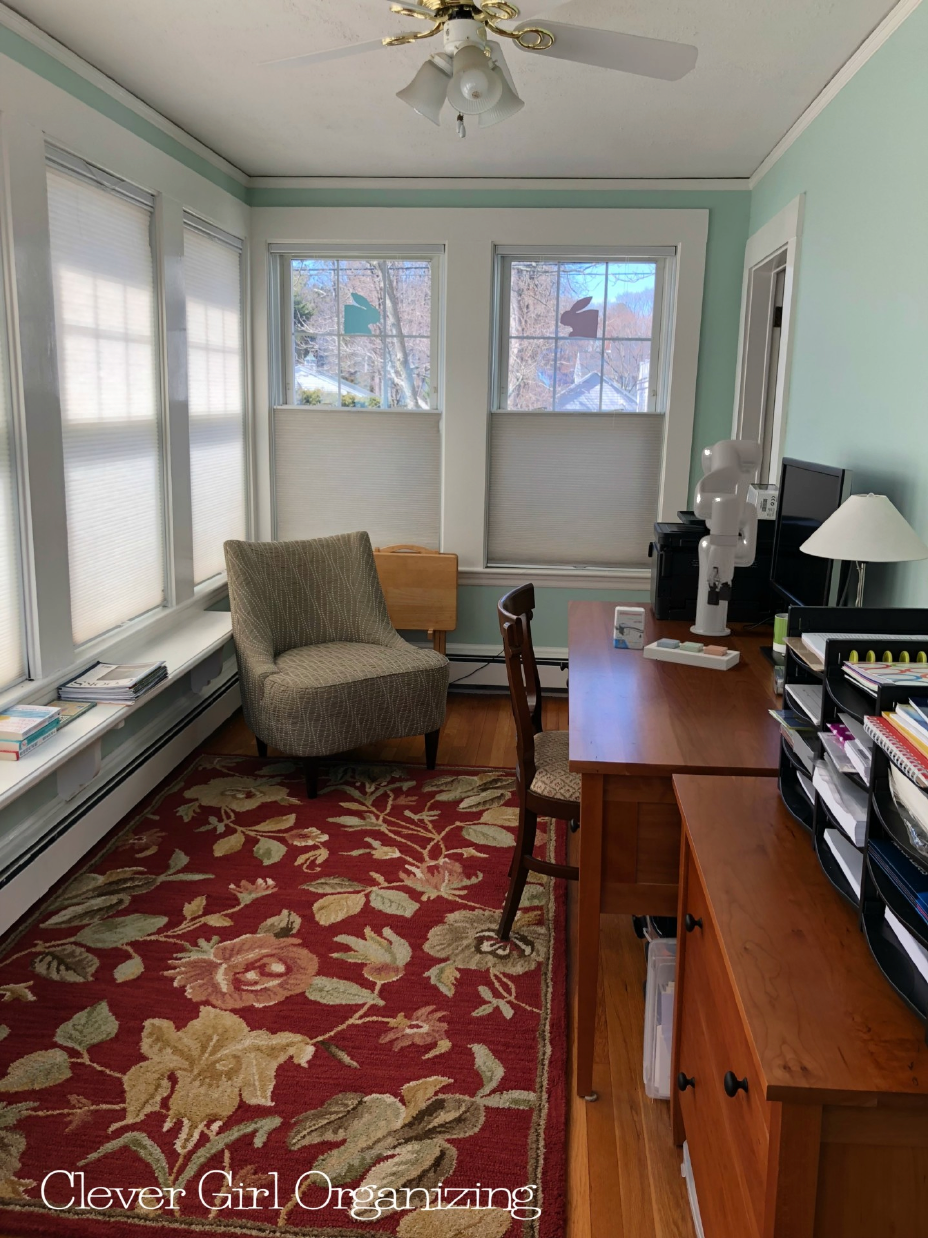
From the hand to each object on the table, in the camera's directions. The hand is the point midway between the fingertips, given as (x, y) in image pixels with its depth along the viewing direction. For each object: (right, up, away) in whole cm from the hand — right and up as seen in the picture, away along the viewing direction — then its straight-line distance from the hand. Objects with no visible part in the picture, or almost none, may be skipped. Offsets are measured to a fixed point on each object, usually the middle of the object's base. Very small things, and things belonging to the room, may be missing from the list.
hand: (718, 602), depth 270 cm
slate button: (-12, -14, +10) cm, 21 cm away
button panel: (-6, -16, +7) cm, 19 cm away
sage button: (-6, -14, +7) cm, 17 cm away
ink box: (-22, -13, +21) cm, 33 cm away
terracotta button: (0, -15, +3) cm, 16 cm away
